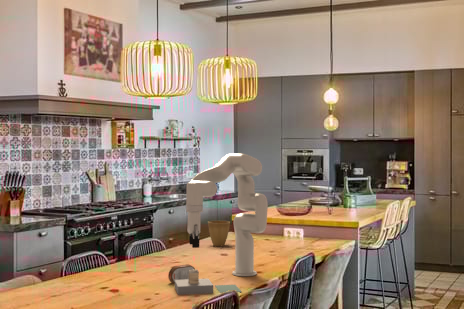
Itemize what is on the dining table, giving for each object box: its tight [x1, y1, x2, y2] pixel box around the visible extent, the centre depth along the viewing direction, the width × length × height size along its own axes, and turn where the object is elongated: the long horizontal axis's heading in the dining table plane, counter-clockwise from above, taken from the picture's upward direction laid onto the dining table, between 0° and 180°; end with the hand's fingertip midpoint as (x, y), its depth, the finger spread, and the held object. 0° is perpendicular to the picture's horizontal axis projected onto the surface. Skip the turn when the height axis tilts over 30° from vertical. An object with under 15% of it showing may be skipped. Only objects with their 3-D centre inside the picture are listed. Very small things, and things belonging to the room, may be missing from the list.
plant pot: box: [207, 220, 231, 247], centre depth 410 cm, size 15×15×16 cm
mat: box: [214, 284, 242, 294], centre depth 284 cm, size 14×10×1 cm
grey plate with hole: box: [174, 278, 214, 295], centre depth 280 cm, size 14×16×4 cm
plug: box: [189, 269, 200, 284], centre depth 280 cm, size 4×4×9 cm
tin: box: [167, 263, 196, 284], centre depth 299 cm, size 15×3×8 cm, turn 131°
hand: (194, 245), depth 280 cm, fingers open, 9 cm apart
